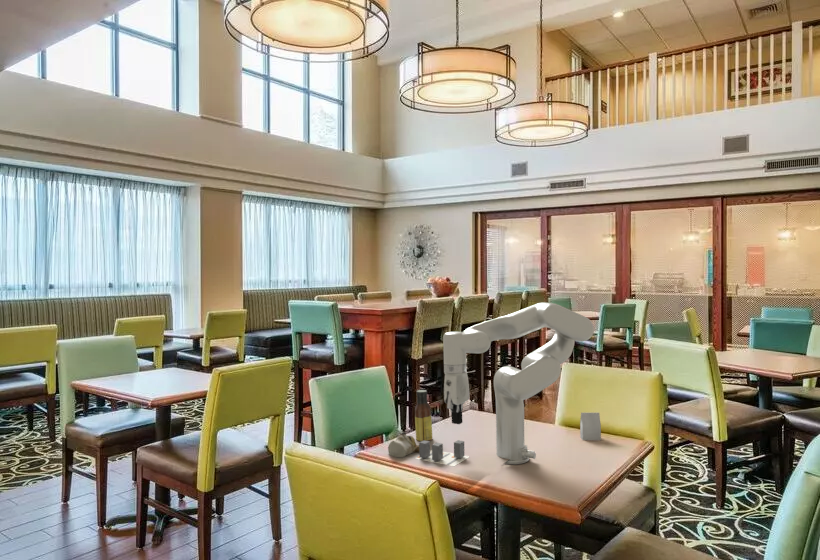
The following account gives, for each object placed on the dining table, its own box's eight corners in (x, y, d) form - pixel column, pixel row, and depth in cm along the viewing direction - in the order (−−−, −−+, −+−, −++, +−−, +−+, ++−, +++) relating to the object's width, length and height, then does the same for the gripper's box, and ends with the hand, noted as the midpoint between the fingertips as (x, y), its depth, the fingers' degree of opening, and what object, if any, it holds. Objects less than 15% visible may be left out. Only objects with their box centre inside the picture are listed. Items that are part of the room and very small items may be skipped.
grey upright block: (600, 440, 214) (600, 413, 214) (582, 440, 215) (582, 413, 215) (598, 437, 218) (597, 411, 218) (580, 437, 218) (580, 411, 218)
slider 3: (464, 455, 193) (464, 441, 192) (460, 458, 190) (460, 443, 190) (458, 454, 194) (458, 440, 194) (454, 457, 191) (453, 442, 191)
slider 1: (430, 456, 193) (429, 441, 193) (425, 458, 190) (425, 443, 190) (424, 454, 194) (423, 440, 194) (419, 457, 192) (419, 442, 192)
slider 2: (442, 458, 190) (442, 443, 190) (438, 461, 188) (438, 446, 188) (436, 457, 192) (436, 442, 191) (432, 459, 189) (431, 444, 189)
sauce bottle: (433, 440, 217) (432, 388, 216) (432, 445, 210) (431, 392, 210) (415, 440, 217) (415, 388, 217) (414, 445, 211) (413, 392, 211)
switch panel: (469, 460, 193) (469, 456, 193) (454, 470, 184) (453, 466, 184) (432, 453, 201) (432, 449, 201) (415, 462, 192) (414, 458, 192)
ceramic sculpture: (380, 433, 196) (404, 426, 209) (379, 459, 196) (403, 449, 208) (405, 438, 190) (428, 430, 203) (404, 464, 190) (428, 455, 203)
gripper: (454, 373, 181) (456, 430, 182) (475, 365, 194) (477, 419, 194) (434, 371, 185) (436, 427, 186) (456, 364, 198) (457, 416, 198)
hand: (457, 423), depth 190 cm, fingers closed
